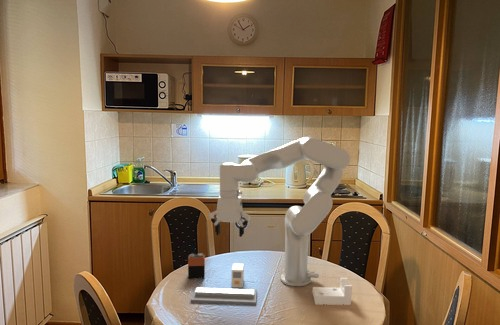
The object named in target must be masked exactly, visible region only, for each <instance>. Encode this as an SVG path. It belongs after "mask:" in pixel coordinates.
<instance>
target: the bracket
mask: <svg viewBox="0 0 500 325" xmlns="http://www.w3.org/2000/svg"><path fill="white" fill-rule="evenodd" d="M348 279H349V278H348V277H340V279H339V281H340V282H339V287H331V286H330V287H325V286H324V287H323V286H322V287H321V286H320V287H319V286H313V287H312V295H313V301H314V304H315V305H322V306H323V304H325V306H327V305H328V306H329V305H331V306H332V305H334V306H338V305H339V306H351V305H352V295H353V294H352V293H353V285H352V284H349V280H348ZM326 304H327V305H326ZM343 304H344V305H343Z"/></svg>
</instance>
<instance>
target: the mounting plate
mask: <svg viewBox="0 0 500 325" xmlns="http://www.w3.org/2000/svg"><path fill="white" fill-rule="evenodd" d="M196 288H202V287H200V286H199V287H195V288H194V291H193V293H192V296H191V298H190V303H198V304H201V303H202V304H226V305H227V304H228V305H248V306H249V305H252V306H256V305H257V293H258V292H257V290H258V289H254V288H253V289H252V288H248V289H249V290H254V298H245V297H219V296H195V291H196ZM223 289H229V288H227V287H226V288H225V287H223Z"/></svg>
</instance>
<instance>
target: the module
mask: <svg viewBox="0 0 500 325" xmlns="http://www.w3.org/2000/svg"><path fill="white" fill-rule="evenodd" d="M244 277H245V264H244V263H241V262H240V263H239V262H234V263H232V267H231V288H243V287H244V282H245V281H244V280H245V278H244Z"/></svg>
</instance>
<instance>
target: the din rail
mask: <svg viewBox="0 0 500 325" xmlns="http://www.w3.org/2000/svg"><path fill="white" fill-rule="evenodd" d="M195 288H196V287H195ZM223 288H224V287H223ZM223 288H221V287H219V288H218V287H201V288H196V291H195V296H219V297H245V298H254V290H255V289H254V290H249V289H250V288H248V289H247V288H246V289H245V288H228V289H223Z"/></svg>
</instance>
